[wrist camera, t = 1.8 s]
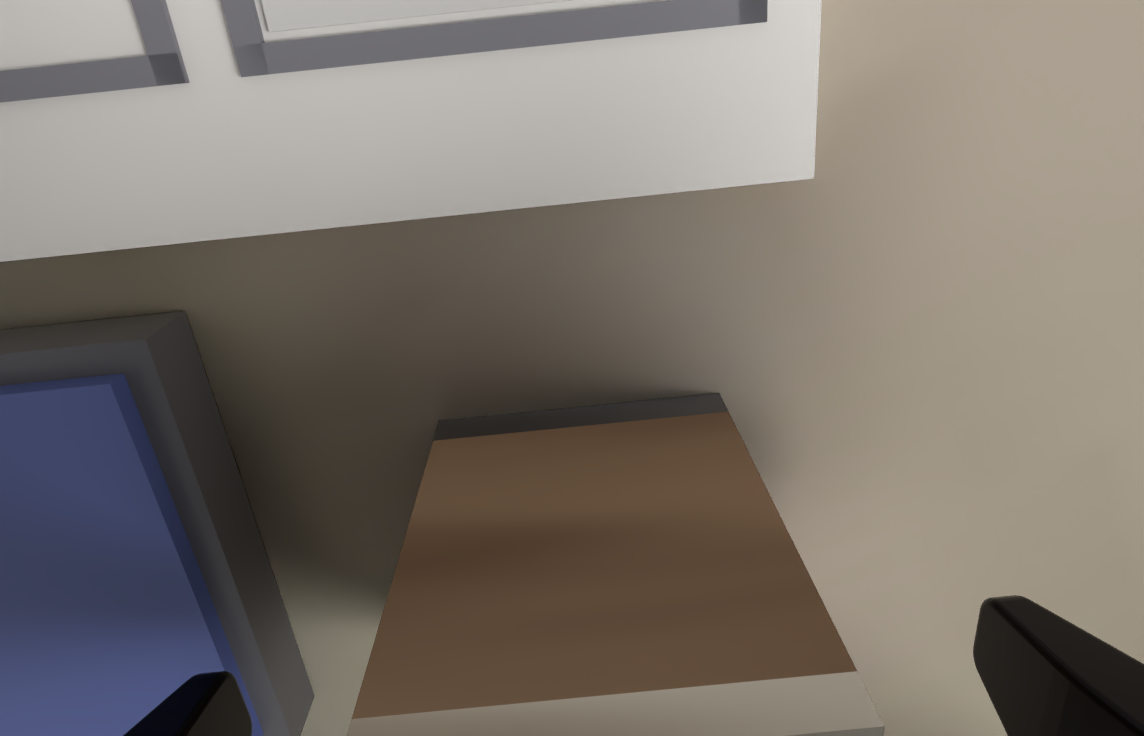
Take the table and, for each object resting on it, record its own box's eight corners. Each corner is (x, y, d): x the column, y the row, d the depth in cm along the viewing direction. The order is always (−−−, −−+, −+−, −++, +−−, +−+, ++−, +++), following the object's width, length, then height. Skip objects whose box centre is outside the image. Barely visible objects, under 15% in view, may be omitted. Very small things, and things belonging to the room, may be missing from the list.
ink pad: (313, 696, 12) (289, 765, 11) (-32, 729, 12) (-94, 802, 11) (184, 311, 9) (132, 349, 8) (-266, 356, 9) (-383, 400, 8)
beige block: (721, 609, 12) (850, 1022, 7) (480, 631, 12) (430, 1060, 7) (718, 391, 10) (885, 727, 5) (438, 419, 10) (334, 777, 5)
